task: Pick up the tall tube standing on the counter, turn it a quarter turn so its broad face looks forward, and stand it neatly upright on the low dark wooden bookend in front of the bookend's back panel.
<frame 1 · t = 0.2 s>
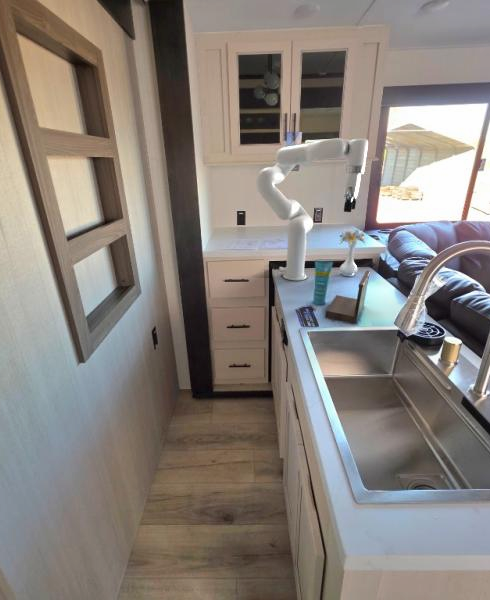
hand: (349, 210, 145), 37 cm above the counter, tool pointing down, fingers open, 9 cm apart
flower vase: (346, 274, 174), on the counter
dark wooden bookend: (345, 311, 131), on the counter
tube: (319, 303, 139), on the counter
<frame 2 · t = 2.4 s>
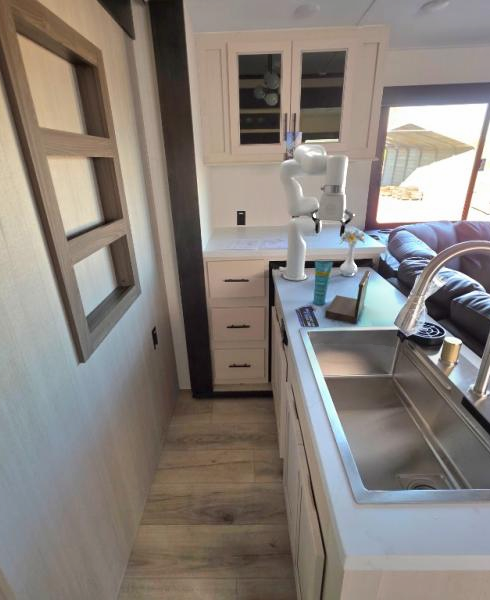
hand: (329, 234, 128), 30 cm above the counter, tool pointing down, fingers open, 9 cm apart
nothing on the counter moved.
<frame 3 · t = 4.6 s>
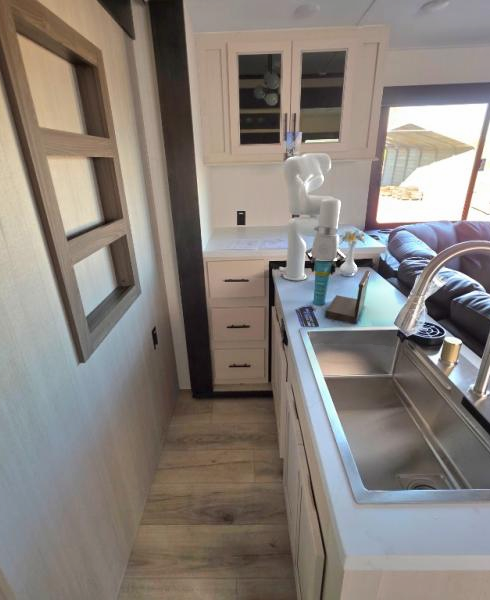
hand: (322, 272, 133), 14 cm above the counter, tool pointing down, fingers closed on tube, 7 cm apart
tube: (319, 303, 139), on the counter, touching gripper
everything else where it was.
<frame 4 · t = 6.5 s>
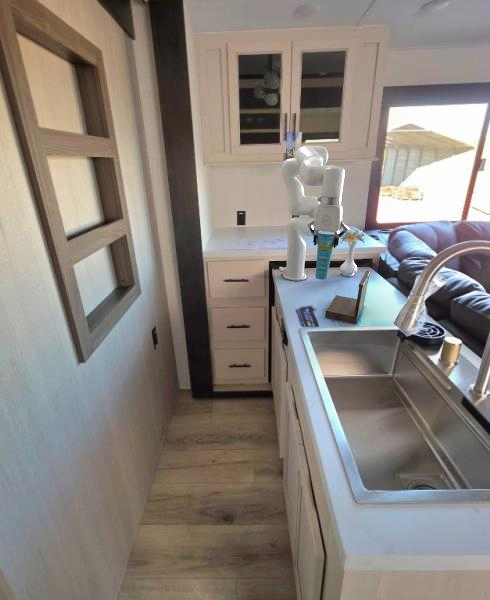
hand: (325, 245, 129), 26 cm above the counter, tool pointing down, fingers closed on tube, 7 cm apart
tube: (321, 278, 135), point 11 cm above the counter, touching gripper
everything else where it was.
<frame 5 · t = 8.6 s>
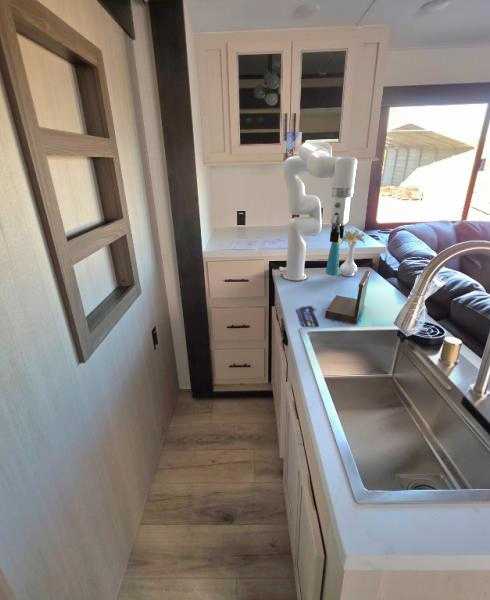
hand: (336, 239, 124), 29 cm above the counter, tool pointing down, fingers closed on tube, 7 cm apart
tube: (332, 274, 130), point 15 cm above the counter, touching gripper
everything else where it was.
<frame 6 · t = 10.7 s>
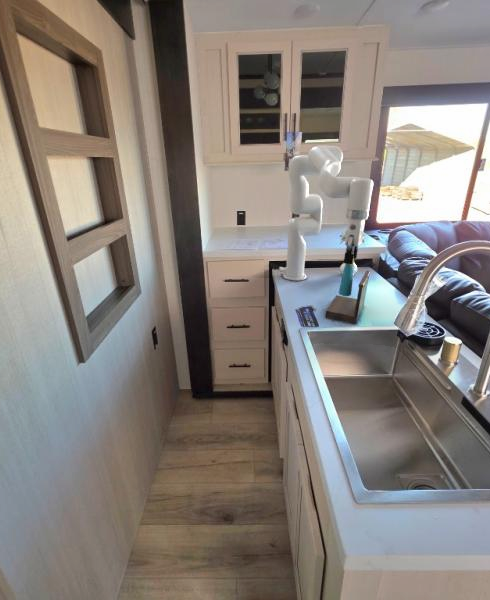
hand: (350, 260, 122), 22 cm above the counter, tool pointing down, fingers closed on tube, 7 cm apart
tube: (345, 294, 128), point 8 cm above the counter, touching gripper
everything else where it was.
when the fingers open (17 cm above the counter, at t = 12.6 s): tube stays where it is, resting on dark wooden bookend.
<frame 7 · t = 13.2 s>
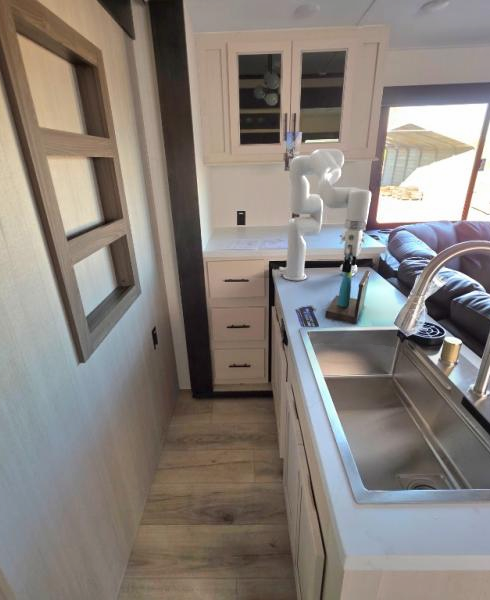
hand: (348, 268, 124), 19 cm above the counter, tool pointing down, fingers open, 9 cm apart
tube: (343, 305, 130), point 3 cm above the counter, touching dark wooden bookend
everything else where it was.
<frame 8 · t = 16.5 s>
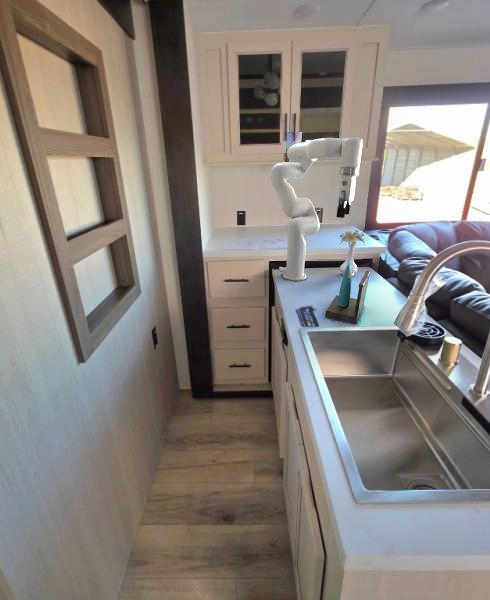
hand: (342, 215, 133), 36 cm above the counter, tool pointing down, fingers open, 9 cm apart
nothing on the counter moved.
at the end: tube inside the target area on the dark wooden bookend (0.1 cm from its centre), point 2.8 cm above the dark wooden bookend's base; tube tilted 0°; the gripper is holding nothing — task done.
